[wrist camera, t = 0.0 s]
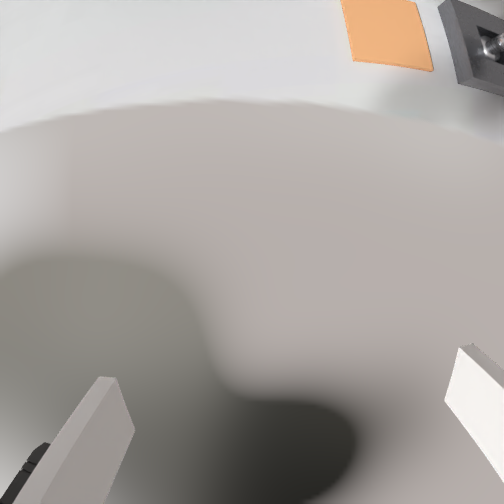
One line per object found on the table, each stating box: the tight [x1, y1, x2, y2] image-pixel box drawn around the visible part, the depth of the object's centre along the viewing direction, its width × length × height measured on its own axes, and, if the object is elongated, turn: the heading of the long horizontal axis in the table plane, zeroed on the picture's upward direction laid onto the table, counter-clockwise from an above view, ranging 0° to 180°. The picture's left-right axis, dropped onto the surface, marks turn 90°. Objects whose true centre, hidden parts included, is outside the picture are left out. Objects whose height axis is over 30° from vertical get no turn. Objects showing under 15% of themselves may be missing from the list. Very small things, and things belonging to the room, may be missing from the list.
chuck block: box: [438, 0, 504, 96], centre depth 28 cm, size 14×14×4 cm
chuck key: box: [480, 33, 504, 62], centre depth 24 cm, size 7×4×13 cm, turn 4°
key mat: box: [341, 0, 433, 72], centre depth 30 cm, size 12×12×1 cm
